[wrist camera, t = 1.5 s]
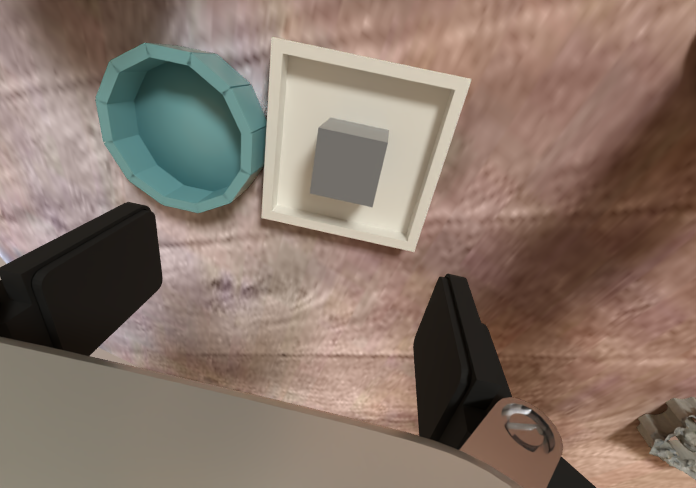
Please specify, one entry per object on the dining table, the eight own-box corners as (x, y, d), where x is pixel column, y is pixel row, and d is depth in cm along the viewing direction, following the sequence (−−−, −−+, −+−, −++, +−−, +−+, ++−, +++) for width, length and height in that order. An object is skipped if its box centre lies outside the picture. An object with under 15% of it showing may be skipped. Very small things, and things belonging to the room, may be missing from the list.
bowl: (272, 65, 24) (254, 66, 21) (263, 208, 30) (248, 224, 27) (121, 33, 24) (82, 29, 21) (141, 180, 30) (112, 194, 27)
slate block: (389, 130, 25) (388, 142, 21) (375, 186, 27) (372, 207, 23) (330, 117, 25) (318, 127, 21) (322, 174, 27) (309, 193, 23)
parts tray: (464, 77, 23) (471, 79, 21) (412, 239, 30) (414, 251, 28) (282, 39, 23) (271, 36, 21) (270, 207, 30) (261, 217, 28)
